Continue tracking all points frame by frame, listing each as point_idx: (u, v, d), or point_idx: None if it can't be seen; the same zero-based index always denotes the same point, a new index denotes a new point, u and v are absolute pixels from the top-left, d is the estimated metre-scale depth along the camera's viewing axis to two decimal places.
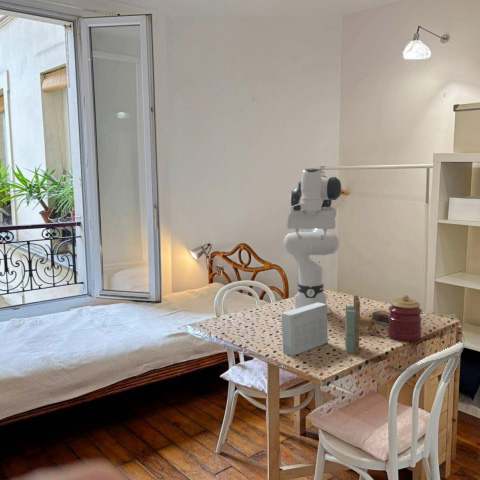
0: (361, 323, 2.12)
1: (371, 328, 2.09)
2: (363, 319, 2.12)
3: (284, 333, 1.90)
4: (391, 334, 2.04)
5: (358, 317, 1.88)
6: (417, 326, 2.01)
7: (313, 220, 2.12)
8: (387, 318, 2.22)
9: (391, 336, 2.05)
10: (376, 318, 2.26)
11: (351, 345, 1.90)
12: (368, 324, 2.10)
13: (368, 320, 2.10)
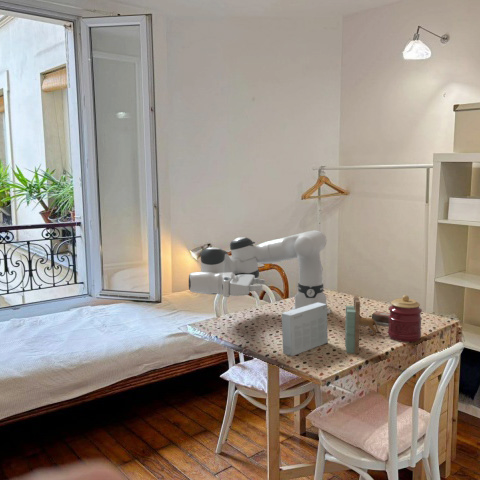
0: (362, 323, 2.11)
1: (372, 328, 2.09)
2: (364, 319, 2.11)
3: (284, 333, 1.90)
4: (391, 334, 2.04)
5: (358, 317, 1.88)
6: (417, 326, 2.01)
7: (243, 279, 1.98)
8: (388, 318, 2.21)
9: (391, 336, 2.05)
10: (376, 319, 2.25)
11: (351, 345, 1.90)
12: (369, 324, 2.09)
13: (369, 320, 2.10)
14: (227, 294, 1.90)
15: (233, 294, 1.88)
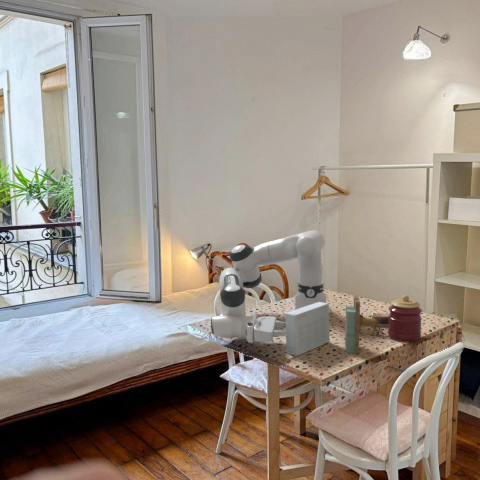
0: (365, 324, 2.11)
1: (375, 329, 2.08)
2: (367, 320, 2.11)
3: (288, 333, 1.89)
4: (392, 334, 2.04)
5: (358, 317, 1.88)
6: (417, 326, 2.01)
7: (265, 322, 1.98)
8: None
9: (391, 336, 2.05)
10: (379, 322, 2.21)
11: (351, 345, 1.90)
12: (372, 325, 2.09)
13: (372, 321, 2.09)
14: (251, 340, 1.90)
15: (257, 340, 1.88)
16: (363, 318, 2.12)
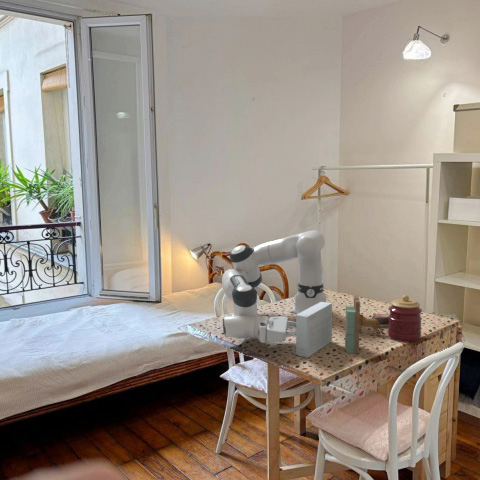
0: (365, 324, 2.11)
1: (376, 329, 2.08)
2: (367, 320, 2.11)
3: (299, 334, 1.87)
4: (391, 334, 2.04)
5: (358, 317, 1.88)
6: (417, 326, 2.01)
7: (278, 323, 1.97)
8: None
9: (391, 336, 2.05)
10: (380, 322, 2.21)
11: (351, 345, 1.90)
12: (373, 325, 2.09)
13: (373, 321, 2.09)
14: (264, 340, 1.89)
15: (270, 340, 1.88)
16: (364, 318, 2.12)
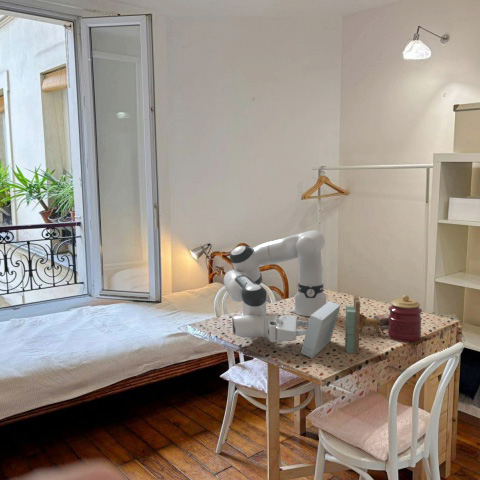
0: (367, 324, 2.10)
1: (377, 329, 2.08)
2: (369, 320, 2.10)
3: (309, 335, 1.85)
4: (391, 334, 2.04)
5: (358, 317, 1.88)
6: (417, 326, 2.01)
7: (287, 322, 1.97)
8: None
9: (391, 336, 2.05)
10: (384, 323, 2.19)
11: (351, 345, 1.90)
12: (374, 325, 2.08)
13: (374, 321, 2.09)
14: (274, 339, 1.89)
15: (280, 339, 1.88)
16: (365, 318, 2.11)
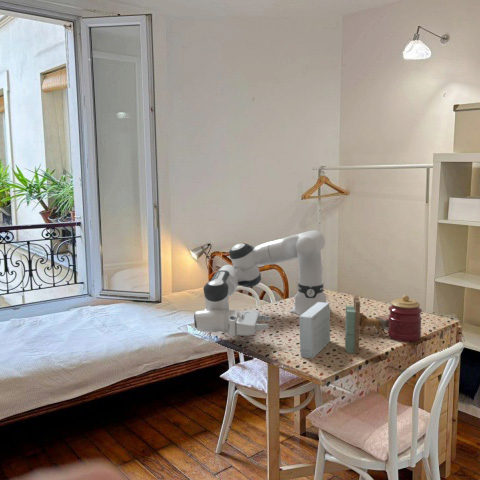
0: (368, 324, 2.10)
1: (379, 329, 2.08)
2: (370, 320, 2.10)
3: (303, 336, 1.86)
4: (391, 334, 2.04)
5: (358, 317, 1.88)
6: (417, 326, 2.01)
7: (248, 316, 1.99)
8: None
9: (391, 336, 2.05)
10: (388, 324, 2.18)
11: (351, 345, 1.90)
12: (376, 325, 2.08)
13: (375, 321, 2.08)
14: (234, 334, 1.91)
15: (240, 334, 1.89)
16: (366, 319, 2.11)
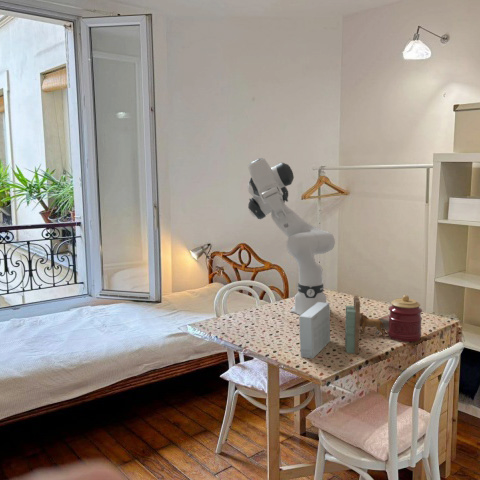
0: (369, 324, 2.10)
1: (380, 329, 2.08)
2: (371, 320, 2.10)
3: (303, 336, 1.86)
4: (392, 334, 2.04)
5: (358, 317, 1.88)
6: (417, 326, 2.01)
7: None
8: None
9: (391, 336, 2.05)
10: None
11: (351, 345, 1.90)
12: (377, 325, 2.08)
13: (376, 321, 2.08)
14: (265, 195, 1.95)
15: (268, 200, 1.94)
16: (367, 319, 2.11)
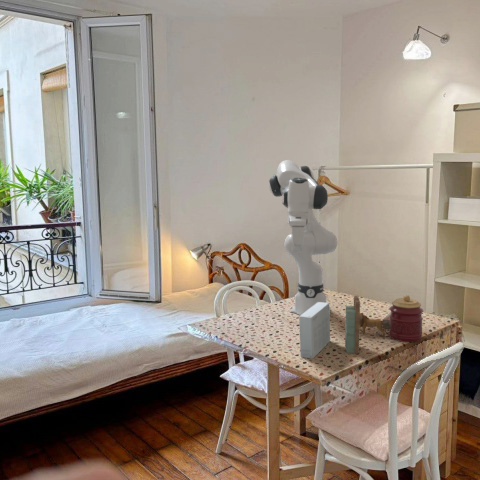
0: (370, 325, 2.09)
1: (381, 329, 2.07)
2: (372, 321, 2.09)
3: (303, 336, 1.86)
4: (393, 334, 2.04)
5: (358, 317, 1.88)
6: (418, 326, 2.01)
7: None
8: None
9: (392, 336, 2.05)
10: None
11: (351, 345, 1.90)
12: (378, 325, 2.08)
13: (377, 321, 2.08)
14: (292, 224, 1.94)
15: (293, 231, 1.93)
16: (368, 319, 2.10)
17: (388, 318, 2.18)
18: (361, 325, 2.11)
